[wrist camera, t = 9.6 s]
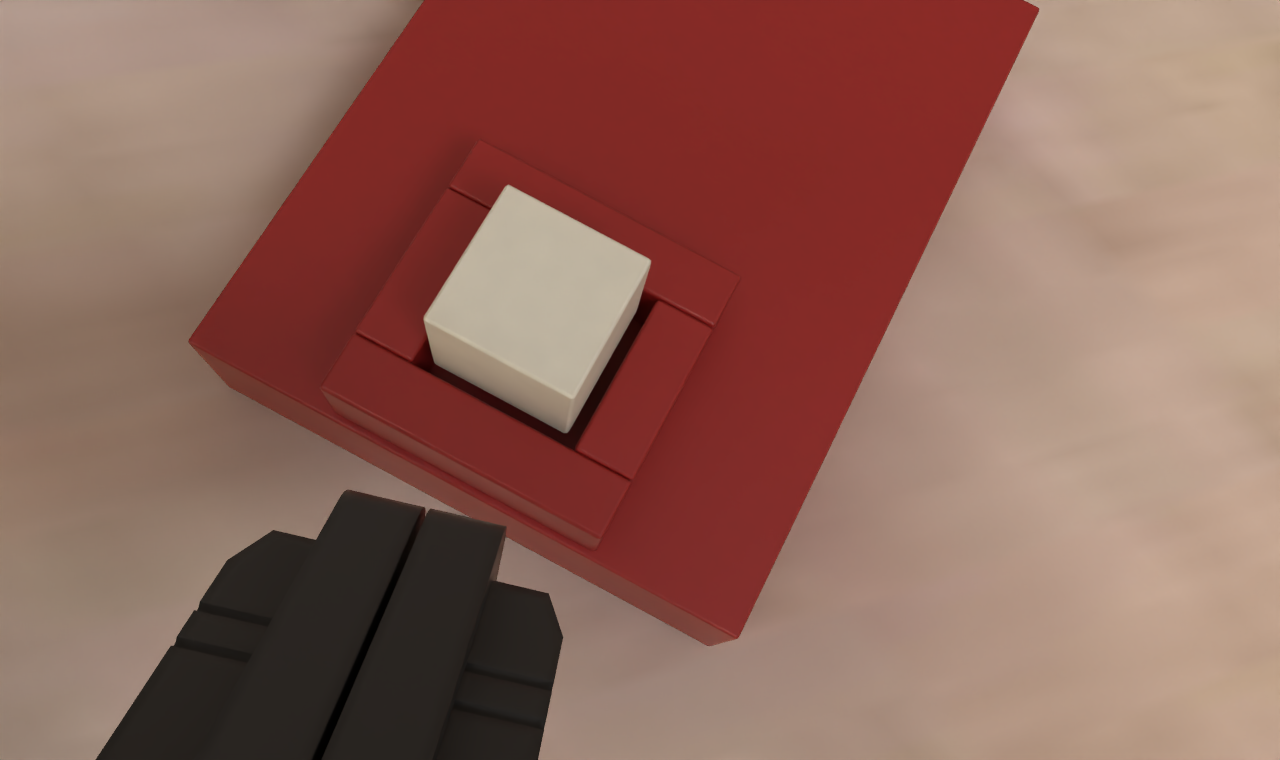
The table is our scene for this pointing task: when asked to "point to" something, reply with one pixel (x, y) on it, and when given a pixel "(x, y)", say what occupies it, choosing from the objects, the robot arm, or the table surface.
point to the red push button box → (648, 224)
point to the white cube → (535, 308)
